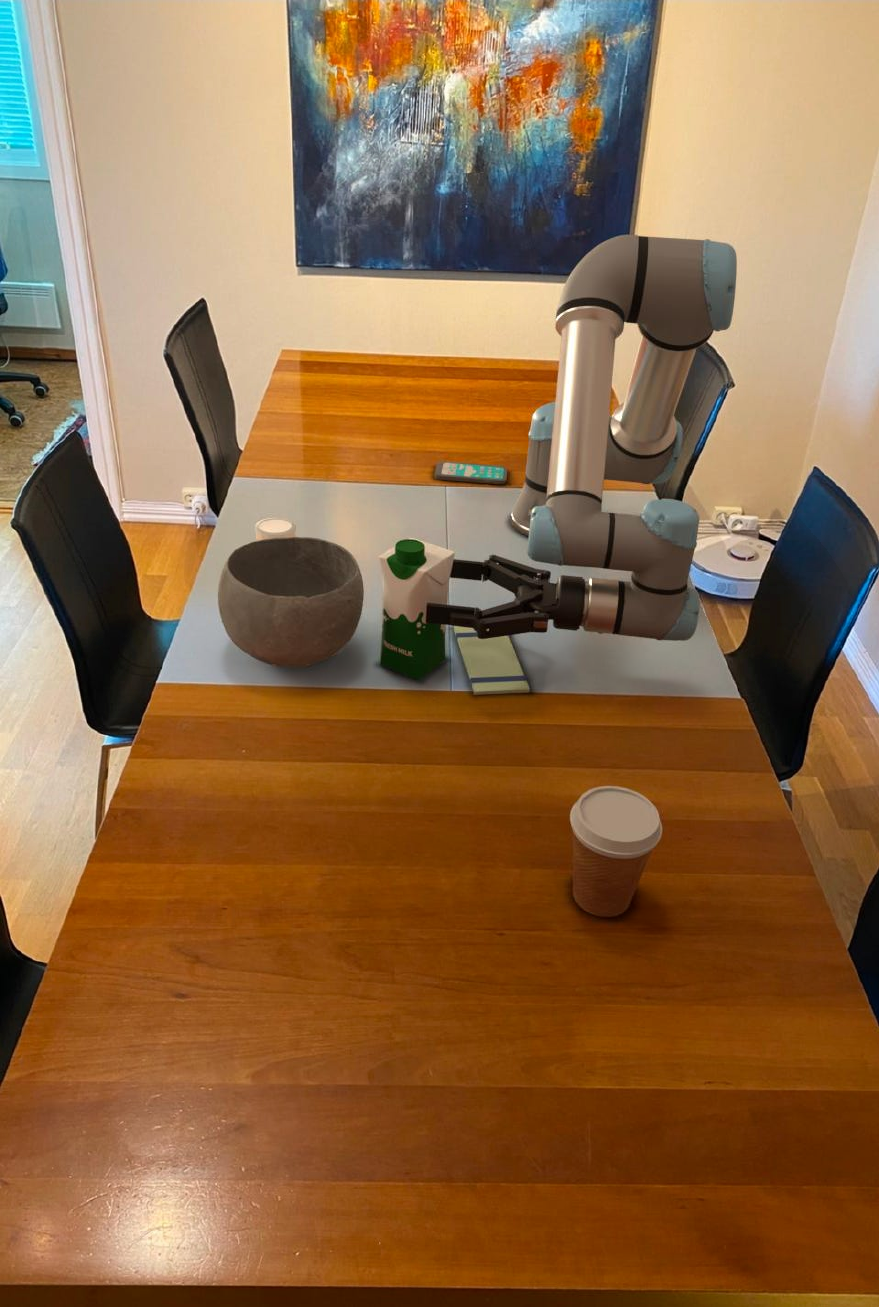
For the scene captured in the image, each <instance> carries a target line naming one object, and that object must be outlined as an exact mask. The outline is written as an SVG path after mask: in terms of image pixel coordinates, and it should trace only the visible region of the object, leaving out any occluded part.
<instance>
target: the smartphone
mask: <svg viewBox="0 0 879 1307" xmlns="http://www.w3.org/2000/svg"><path fill="white" fill-rule="evenodd" d="M433 476H434V479H436V480H440V481H441V480H443V481H454V482H466V483H467V482H468V483H477V484H478V483H479V484H491V485H492V484H493V485H505V484H507V479H508V467H506V466H504V465H495V464H482V463H469V462H457V461H438V462H437V463H436V466H435V471H434V475H433Z"/></svg>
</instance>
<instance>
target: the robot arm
mask: <svg viewBox="0 0 879 1307" xmlns="http://www.w3.org/2000/svg"><path fill="white" fill-rule="evenodd" d="M737 260H738V258H737V252H736V250H735V248H734V247H733V246H732V245H731V244H730V243H727V242H721V241H715V240H710V239H709V238H708V239H706V238H705V239H693V238H678V237H661V236H659V237H658V236H643V235H638V234H621V235H618V236H613V237H612V238H609V239H606V240H605V241H603V242H601V243H599V244H598V245H596V246H595V247H594V248H592V249H591V250H590V251H589V252H587V254H585V255H584V256H583V258H582V259H581V260H580V261H579V262H578V263H577V264H576V266H574V268H573V270H572V271H571V273H570V274H569V276H568V278H567V279H566V281H565V284H564V285H563V288H562V290H561V293H560V295H559V298H558V302H557V307H556V313H555V324H554V325H555V330H556V332H557V334H558V335H559V336H560V337H561V338H560V346H559V347H560V348H559V358H558V369H557V379H556V392H555V401H552V402H549V403H546V404H543V405H541V406H539V407H538V408H537V409H536V410H535V411H534V413H533V414H532V416H531V417H532V418H531V423H530V429H529V431H528V438H529V441H528V450H527V457H526V458H527V459H526V467H525V474H524V476H525V477H524V484H523V486H522V488H521V491H520V493H519V495H518V497H517V499H516V501H515V504H514V506H513V508H512V511H511V518H510V524H511V526H512V527H513V528H514V529H515V530H516V531H517V532H518V533H520V534H522V535H524V536H526V537H527V538H528V539H527V549H526V550H527V555H528V556H527V557H529V559H530V560H531V561H534V562H538V563H544V564H549V565H550V564H551V565H556V566H560V567H562V566H568V567H581V568H595V569H604V570H613V571H624V572H631V576H630V580H631V581H625V580H617V579H607V578H596V577H590V578H589V579H588V581H586V579H585V578H584V577H583V576H575V575H567V574H566V575H565V574H562V575H561V574H560V575H559V576H558V578H557V581H556V583H554V582H551V577H552V576H551V575H552V572H551V570H547V569H541V568H535V567H533V566H529V565H526V564H523V563H520V562H517V561H514V560H511V559H508V558H506V557H502V556H499V555H496V554H490V555H489V556H488V559H485V560H484V561H478V560H477V561H476V560H467V559H456V558H454V560H453V564H452V569H451V574H450V579H458V580H459V579H460V580H469V581H480V582H483V583H484V582H487V581H490V582H491V583H493V584H495V585H497V586H499V587H501V588H503V589H504V590H506V591H509V592H511V593H512V594H514V597H515V598H514V599H513V601H509V602H506V603H503V604H498V605H496V606H492V607H489V608H485V609H481V608H479V607H478V606H476V607H472V606H463V605H455V604H454V605H453V604H447V605H445V604H435V603H427V607H426V623H433V624H443V625H446V626H452V627H454V626H458V627H468V628H474V631H477V633H478V634H477V637H478V638H479V639H488V638H495V637H501V636H515V635H521V634H529V633H540V634H545V633H547V632H548V626H549V620H551V621H552V626H553V628H554V629H557V630H565V631H578V630H580V629H581V627H582V629H583V631H584V632H586V633H587V632H589V633H597V634H599V635H602V634H608V635H610V634H612V635H617V636H627V637H634V638H642V639H652V640H656V641H674V642H675V641H676V642H677V641H682V642H684V641H688V640H690V639H691V638H692V637H693V636H694V635H695V632H696V630H697V626H698V624H699V623H698V622H699V613H700V602H701V601H700V594H699V592H698V590H697V589H695V588H692V587H689V586H688V581H689V576H690V572H691V567H692V564H693V559H694V554H695V551H696V548H697V547H698V546H697V545H698V543H697V542H698V540H697V539H698V534H699V525H700V515H699V512H698V510H696V509H695V508H694V507H693V506H692V505H690V504H689V503H686V502H685V501H681V500H678V499H672V498H661V499H652V500H649V501H648V502H647V503H645V505H644V507H643V508H642V509H643V510H642V511H641V513H640V515H639V514H629V513H618V512H605V511H602V505H603V494H604V481H614V482H615V481H617V482H626V483H635V484H636V483H637V484H641V485H651V484H655V485H660V484H664V483H666V482H668V481H669V480H670V479H671V478H672V476H673V475H674V473H675V471H676V468H677V466H678V464H679V463H678V462H679V458H680V456H681V451H682V447H683V446H682V445H683V436H684V435H683V432H684V431H683V427H682V424H681V422H679V421H678V420H677V419H676V417H675V412H676V410H677V406H678V404H679V400H680V398H681V395H682V392H683V389H684V386H685V384H686V381H687V377H688V375H689V372H690V369H691V366H692V363H693V360H694V357H695V355H696V351H697V349H699V348H701V347H703V345H705V344H706V343H707V342H708V341H710V339H711V338H712V335H713V333H714V332H720V331H727V330H728V329H730V327H731V324H732V320H733V314H734V307H735V299H736V286H737V272H738V270H737V268H738V261H737ZM625 323H626V324H636V326H637V329H638V331H639V334H641V339H640V341H639V345H638V349H637V353H636V357H635V361H634V364H633V367H632V371H631V375H630V380H629V384H628V387H627V392H626V396H625V399H624V402H622V403H621V404H620V405H619V406H618V407H616V409H615V410H614V411H613V413H612V414H610V410H611V398H612V386H613V373H614V372H613V371H614V361H615V351H616V340H617V339H618V338H619V337H620V336H621V335H622V334H623V333H624V330H625V329H624V328H625ZM487 629H489V631H487Z"/></svg>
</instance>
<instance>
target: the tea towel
mask: <svg viewBox="0 0 879 1307" xmlns="http://www.w3.org/2000/svg"><path fill="white" fill-rule="evenodd" d="M453 631H454V634H455V638H456V641H457V644H458V647H459V651H460V654H461V656H462V659H463V663H464V666H465V670H466V673H467V676H468V678H469V682H470V685H471V688H472V691H473V695H475V696H478V695H480V696H481V695H503V694H523V693H525V694H527V693H530V690H531V689H530V686H529V683H528V681H527V678H526V676H525V674H524V671H523V670H522V667H521V666H522V665H521V664H520V661H519V659H518V656H517V654H516V650H515V649H514V646H513V644H512V642H511V639H510V635H508V636H501V637H495V638H488V639H479V638H478V637H477V634H478V633H477V631H474V628H468V627H458V626H453ZM487 631H489V629H487Z"/></svg>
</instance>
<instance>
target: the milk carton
mask: <svg viewBox="0 0 879 1307" xmlns="http://www.w3.org/2000/svg"><path fill="white" fill-rule="evenodd" d="M455 554H456V551H454V550H450V549H448V548H444V547H442V546H439V545H436V544H433V543H429V542H426V541H423V540H420V539H418V538H416V537H415V538H414V537H408V538H405V539H400V540H397V542H396V543H395V545H394V546H393V547H392V548H389V549H388V550H387V551H385V552H383V553H382V554H380V555H379V564H380V569H381V574H382V609H381V610H382V612H381V638H380V639H381V640H380V655H379V656H380V657H379V665H380V666H381V667H384V668H387V669H389V670H391V671H394V672H396V673H399V674H402V675H404V676H406V677H409V678H411V679H414V680H416V681H418V682H420V681H421V680H422V679H423V678H425V677H426V676H428V674H430V673H431V672H432V671H433V670H435V669H436V668H437V667H438V666H440V665H441V664H442V663H443V662H445V661H446V632H447V631H446V628H447V625H443V624H433V623H426V607H427V603H435V604H445V605H448V601H449V600H448V599H449V585H450V579H451V578H450V574H451V569H452V564H453V560H454V559H455Z"/></svg>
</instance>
